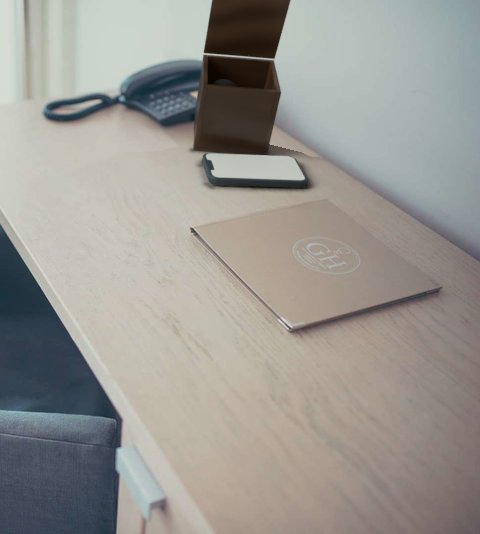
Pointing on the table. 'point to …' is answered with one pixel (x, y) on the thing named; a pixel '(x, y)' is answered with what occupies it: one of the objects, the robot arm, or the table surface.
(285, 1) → the lid
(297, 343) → the table surface
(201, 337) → the table surface
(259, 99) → the chest
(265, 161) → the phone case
